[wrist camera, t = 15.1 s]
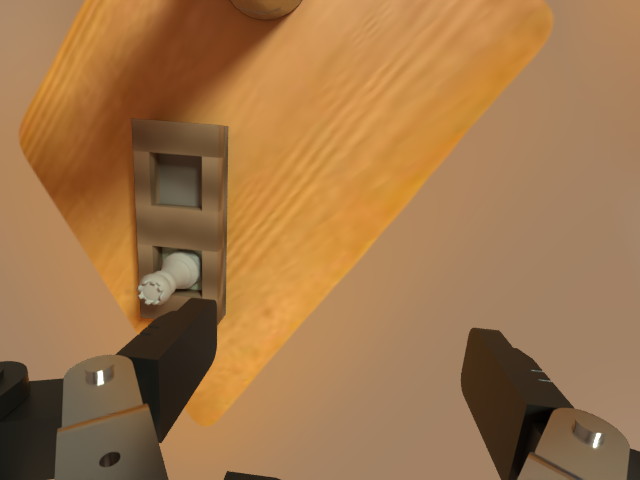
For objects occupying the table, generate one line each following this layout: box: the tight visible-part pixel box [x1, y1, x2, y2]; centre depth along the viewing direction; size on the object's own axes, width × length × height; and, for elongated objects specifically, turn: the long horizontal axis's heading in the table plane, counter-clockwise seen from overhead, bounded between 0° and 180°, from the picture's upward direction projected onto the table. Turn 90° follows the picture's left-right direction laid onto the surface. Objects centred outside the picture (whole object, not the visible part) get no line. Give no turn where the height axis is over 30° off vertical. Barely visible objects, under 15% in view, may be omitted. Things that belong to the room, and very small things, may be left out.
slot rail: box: [131, 118, 228, 325], centre depth 41 cm, size 22×9×3 cm, turn 176°
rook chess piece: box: [137, 250, 202, 305], centre depth 39 cm, size 4×4×8 cm
